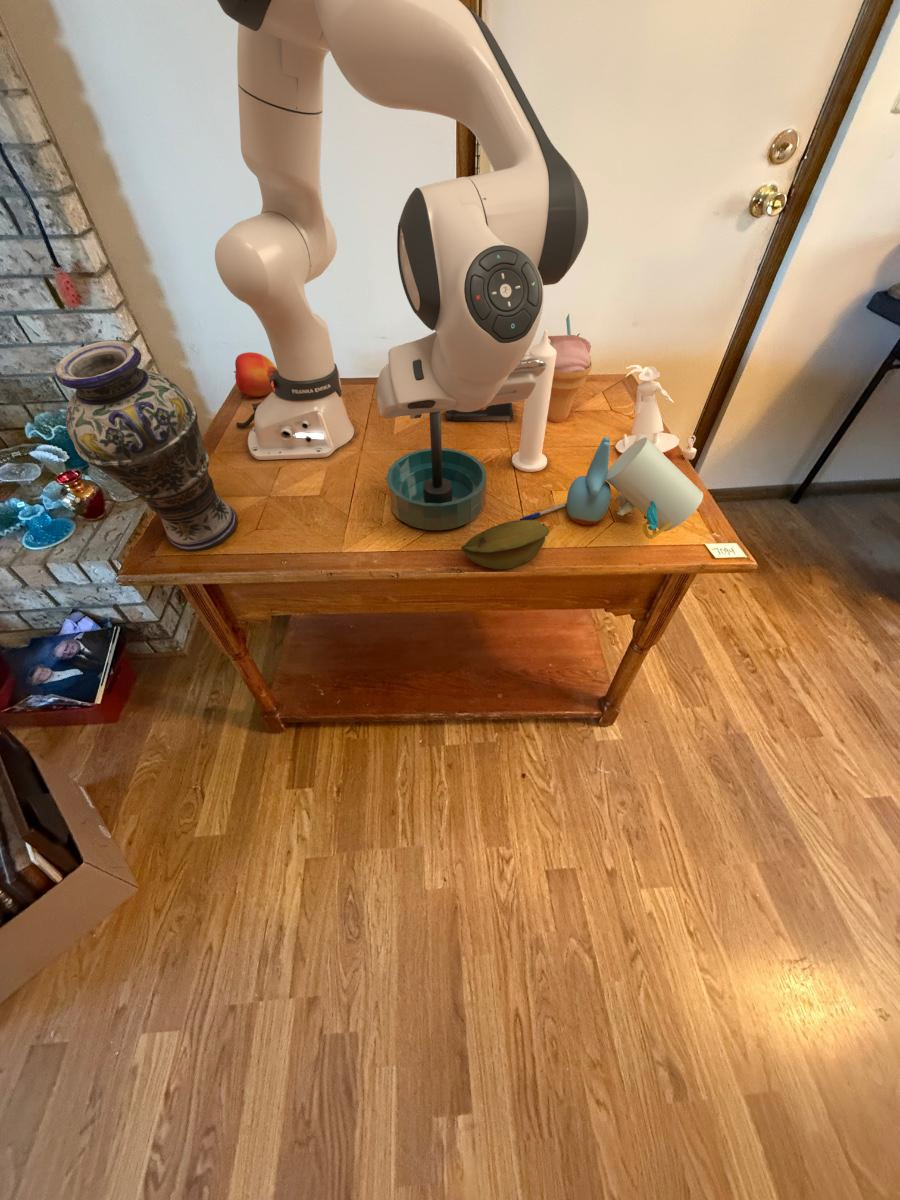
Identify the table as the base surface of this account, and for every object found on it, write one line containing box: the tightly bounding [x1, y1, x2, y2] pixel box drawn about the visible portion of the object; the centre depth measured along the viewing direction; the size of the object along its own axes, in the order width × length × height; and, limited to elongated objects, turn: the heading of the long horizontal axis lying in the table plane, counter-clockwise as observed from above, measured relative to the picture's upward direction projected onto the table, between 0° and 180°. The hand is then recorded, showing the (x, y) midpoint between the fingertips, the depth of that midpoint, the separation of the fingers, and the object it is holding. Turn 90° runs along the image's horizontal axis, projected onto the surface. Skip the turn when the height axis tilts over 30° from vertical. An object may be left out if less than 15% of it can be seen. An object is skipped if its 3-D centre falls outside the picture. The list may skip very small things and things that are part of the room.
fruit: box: [460, 519, 551, 570], centre depth 79 cm, size 11×12×7 cm
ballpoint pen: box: [519, 502, 567, 520], centre depth 88 cm, size 10×1×1 cm, turn 116°
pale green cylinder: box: [606, 438, 704, 540], centre depth 83 cm, size 20×12×13 cm
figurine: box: [614, 364, 698, 461], centre depth 96 cm, size 16×12×20 cm
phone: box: [445, 403, 514, 422], centre depth 113 cm, size 8×1×15 cm
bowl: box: [385, 447, 488, 531], centre depth 89 cm, size 18×18×6 cm
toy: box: [566, 436, 612, 525], centre depth 83 cm, size 10×7×15 cm
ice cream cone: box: [547, 313, 593, 423], centre depth 104 cm, size 11×11×20 cm
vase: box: [54, 340, 238, 552], centre depth 74 cm, size 17×17×30 cm
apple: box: [233, 351, 277, 398], centre depth 117 cm, size 10×10×10 cm
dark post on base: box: [423, 411, 452, 503], centre depth 84 cm, size 5×5×18 cm
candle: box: [511, 329, 557, 473], centre depth 91 cm, size 7×7×25 cm
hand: (447, 408), depth 70 cm, fingers open, 8 cm apart
